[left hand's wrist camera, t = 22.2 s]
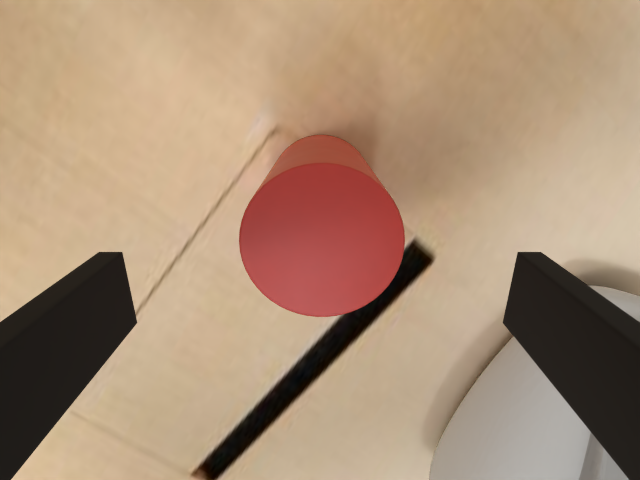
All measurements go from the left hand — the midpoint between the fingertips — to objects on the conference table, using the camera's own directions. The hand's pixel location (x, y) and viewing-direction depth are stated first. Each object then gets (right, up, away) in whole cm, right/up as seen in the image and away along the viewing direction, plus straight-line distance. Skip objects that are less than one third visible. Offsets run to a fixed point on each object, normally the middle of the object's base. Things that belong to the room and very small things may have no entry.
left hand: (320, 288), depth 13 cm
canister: (0, +6, +14) cm, 15 cm away
